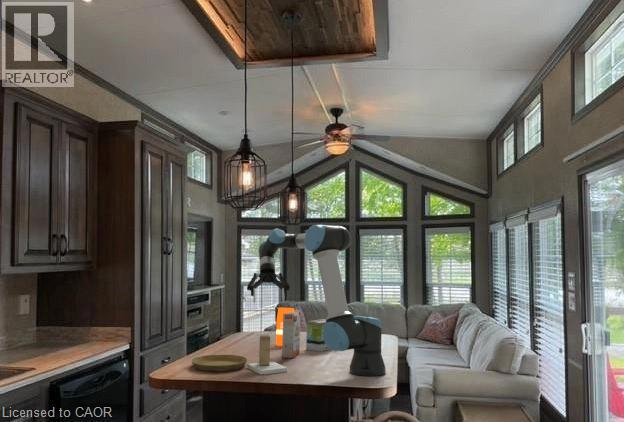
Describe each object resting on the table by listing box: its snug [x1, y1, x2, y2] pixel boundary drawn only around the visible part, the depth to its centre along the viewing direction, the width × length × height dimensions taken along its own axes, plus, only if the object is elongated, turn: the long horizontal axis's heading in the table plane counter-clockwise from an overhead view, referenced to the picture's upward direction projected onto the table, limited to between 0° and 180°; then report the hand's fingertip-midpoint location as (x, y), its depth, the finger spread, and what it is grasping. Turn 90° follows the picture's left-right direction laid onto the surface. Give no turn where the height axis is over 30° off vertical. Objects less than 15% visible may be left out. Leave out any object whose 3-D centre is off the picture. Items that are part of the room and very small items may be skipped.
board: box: [247, 361, 288, 376], centre depth 209 cm, size 14×12×2 cm
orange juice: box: [275, 307, 295, 347], centre depth 270 cm, size 8×9×20 cm
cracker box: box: [281, 310, 301, 359], centre depth 240 cm, size 14×6×21 cm, turn 168°
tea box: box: [305, 318, 331, 352], centre depth 259 cm, size 15×10×15 cm, turn 143°
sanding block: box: [258, 334, 271, 366], centre depth 212 cm, size 6×4×12 cm, turn 10°
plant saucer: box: [191, 354, 248, 373], centre depth 214 cm, size 24×24×3 cm
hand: (269, 300), depth 228 cm, fingers open, 13 cm apart
